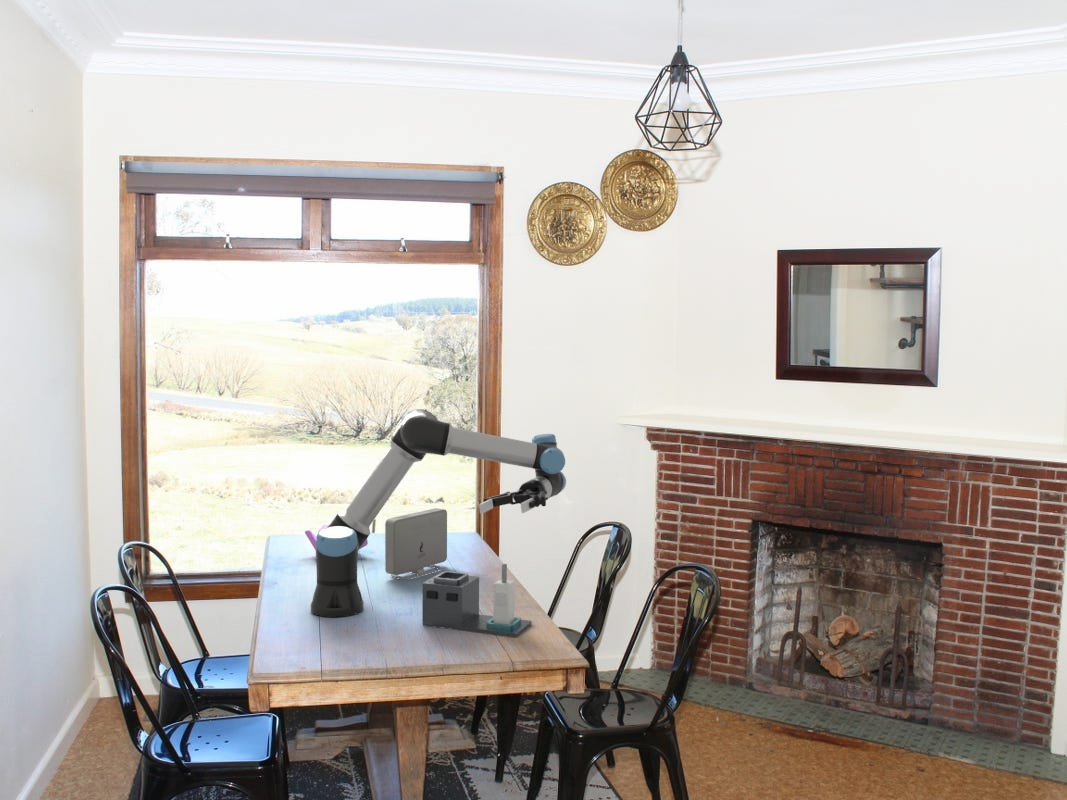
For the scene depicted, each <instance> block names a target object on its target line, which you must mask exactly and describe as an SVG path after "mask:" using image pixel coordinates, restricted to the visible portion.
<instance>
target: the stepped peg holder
mask: <svg viewBox="0 0 1067 800" xmlns="http://www.w3.org/2000/svg"><path fill="white" fill-rule="evenodd" d="M421 600H422V601H421V602H422V603H421V604H422V612H421V613H422V614H421V615H422V621H421V622H422V623H421V624H423V625H422V626H424V625H428V626H427V627H432V626H436V627H435V628H440V627H444V628H443V629H448V628H451V629H450V630H455V629H457V631H463V630H465V631H464V632H472V633H480V634H485V635H487V634H488V635H496V636H503V637H511V638H518V637H519V636H520V635H521V634H522V633H523V632H525V630H527V629H528V628H529V627H530V626H532V620H527V619H522V618H521V617H517V616H514V622H513V623H512V624H511V625H507V624H499V623H494V615H486V614H480V576H476V575H475V576H474V575H469V572H468V573H467V572H459V571H449V570H445V571H440V573H437V574H436V575H434V576H433V577H431V578H429V579H426V581H424V582H422V599H421Z"/></svg>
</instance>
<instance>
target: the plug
mask: <svg viewBox="0 0 1067 800" xmlns="http://www.w3.org/2000/svg"><path fill="white" fill-rule="evenodd" d="M507 566H508V563H501V579H498V580H497V581H494V583H493V616H494V623H499V624H507V625H511V624H512V623H513V622H514V617H515V580H509V579H508V573H507V572H508V567H507Z"/></svg>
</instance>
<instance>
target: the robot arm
mask: <svg viewBox="0 0 1067 800" xmlns="http://www.w3.org/2000/svg"><path fill="white" fill-rule="evenodd" d="M389 444H390V447H389V448H388V450H387V451H386V452H385V454H384V455H383V457H382V458H381V460H380V461H379V463H378V464H377V466H375V469H374V470H373V471H372V473H371V474H370V476H369V477H368V478H367V480H366V481H365V483H363V486H361V488H360V489H359V491H358V493H356V495H355V496H354V499H353V500H352V501H351V502H350V504H349V506H348V507H347V508H346V510H342V511H339V512H338V513H336V515H335V517H334V518H333V520H332V521H331V523H329V524H328V525H329V526H328V527H326V529H323V530H321V531H320V532H319V533H318V532H317V535H316V537H317V539H316V549H317V557H316V586H315V589H314V593H313V596H312V600H311V603H310V612H311V614H313V615H315V616H318V615H319V617H324V616H326V617H327V618H337V617H336V616H343V617H348V616H347V615H349V616H353V615H352V614H354V615H356V614H355V613H357V614H359V613H361V612H362V611H363V610H364V598H363V597H362V593H361V590H360V588H359V584H358V555H359V554H358V553H359V550H361V549H362V548H361V546H362V545H363V543H364V542H365V540H366V539H367V540H368V537H369V536H370V535H371V530H370V526H371V525H372V523H373V521H374V520H375V519H376V518H377V516H378V515H379V513H380V512H381V511H382V509H383V508H384V506H385V505H386V503H387V502H388V501H389V499H390V497H391V496H392V495H393V493H394V492H395V491H396V489H397V488H398V486H399V484H401V482H402V481H403V479H404V477H405V476H406V474H407V473H408V472H409V471H410V469H411V467H413V465H414V463H417V462H421V461H423V459H424V458H425V456H426V455H427V454H431V455H439V456H442V457H443V456H447V455H449V454H452V455H457V456H463V457H468V458H474V459H480V460H483V461H484V460H485V461H490V462H495V463H502V464H508V465H513V466H516V467H517V466H518V467H524V468H529V469H534V470H535V471H534V472H535V473H534V474H535V477H534V478H533V477H532V478H531V479H530V480H527V481H526V482H524V483H522V484H521V485H520V486H519V488H518V490H516V491H512V492H510V491H506V492H504V493H499V494H496V495H493V496H489V497H486V498H485V497H484V498H482V499H483V502H481V503H479V504H478V507H479V514H480V515H481V514H485V513H487V512H488V511H492V510H493V509H494V508H495V507H500V506H505V505H511V506H512V505H517V504H520V509H521V511H520V512H521V514H525V513H526V512H528V511H530V510H532V509H534V508H539V507H540V506H541V507H546V506H547V500H549V499H550V498H552V497H555V496H557V495H559V494H560V493H561V492H562V491H564V489H565V487H566V485H567V479H566V477H565V475H564V473H563V472H562V471H563V469H564V468H565V466H566V458H565V454H564V452H563V451H562V450H561V449H560V448H558V443H557V439H556V435H555V434H554V433H541V434H538V435H537V434H536V435H534V436H532V438H531V442H529V441H524V440H519V439H514V438H508V437H504V436H499V435H493V434H488V433H483V432H479V431H473V430H472V431H471V430H468V429H467V430H466V429H462V428H458V427H457V428H456V427H454V426H453V425H452V424H451V423H450V422H446V421H445V422H444V421H440V420H438V418H437V417H436V415H434V414H433V413H432V412H430V411H429V410H427V409H423V408H418V409H413V410H409V412H407V413H405V415H404V416H403V417H402V419H401V421H400V424H399V425H398V427H397V428H396V429H395V431H394V432H393V434H392V435H391V437H390V439H389ZM360 548H361V549H360ZM326 617H325V618H326Z"/></svg>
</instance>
